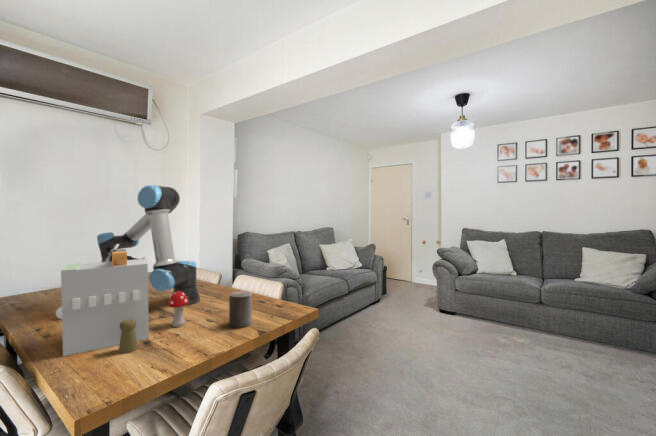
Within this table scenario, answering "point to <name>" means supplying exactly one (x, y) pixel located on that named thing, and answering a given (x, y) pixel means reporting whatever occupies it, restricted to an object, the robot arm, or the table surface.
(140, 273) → the breaker panel
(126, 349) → the cork
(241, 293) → the pillar candle
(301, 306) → the table surface
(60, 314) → the smoothie
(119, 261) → the handle
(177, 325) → the decorative mushroom
